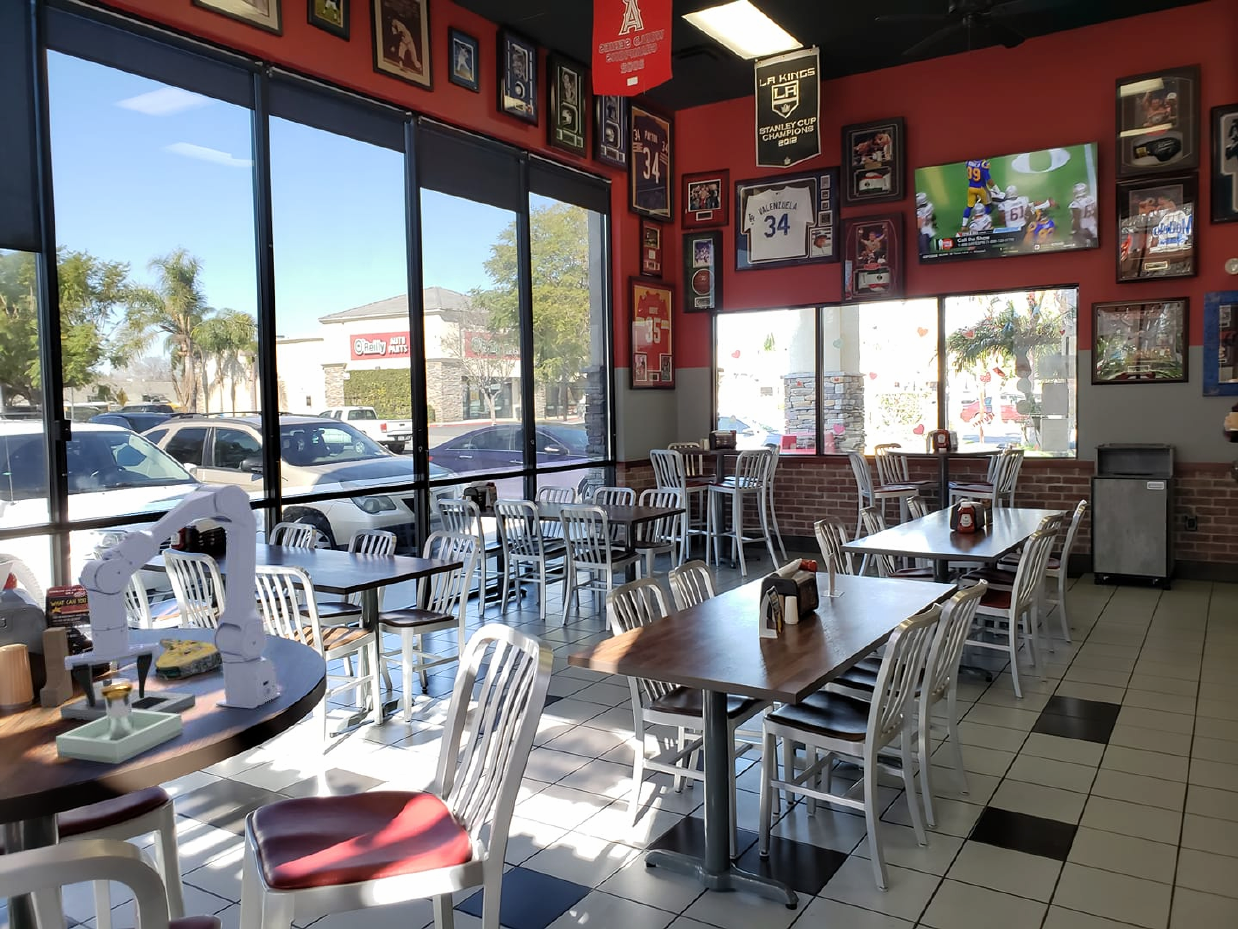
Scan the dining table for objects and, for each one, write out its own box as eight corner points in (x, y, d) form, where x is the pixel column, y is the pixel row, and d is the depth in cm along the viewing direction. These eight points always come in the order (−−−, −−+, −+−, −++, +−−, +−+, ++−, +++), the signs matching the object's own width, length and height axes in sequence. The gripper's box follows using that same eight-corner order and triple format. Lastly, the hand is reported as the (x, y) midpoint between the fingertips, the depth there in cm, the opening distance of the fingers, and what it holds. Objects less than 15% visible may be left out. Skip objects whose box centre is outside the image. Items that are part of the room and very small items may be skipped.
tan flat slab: (203, 620, 228) (227, 646, 203) (209, 642, 229) (233, 670, 204) (141, 640, 220) (158, 669, 195) (148, 662, 221) (165, 694, 196)
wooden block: (57, 697, 193) (49, 627, 192) (73, 696, 193) (66, 626, 192) (41, 708, 187) (33, 636, 185) (58, 706, 187) (50, 635, 186)
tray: (182, 732, 168) (181, 714, 168) (117, 764, 155) (115, 744, 155) (125, 726, 173) (123, 708, 173) (57, 756, 160) (55, 737, 160)
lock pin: (144, 731, 167) (138, 683, 166) (120, 742, 162) (114, 693, 161) (123, 729, 169) (118, 682, 168) (99, 740, 164) (94, 691, 163)
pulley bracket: (195, 704, 184) (192, 675, 183) (146, 726, 173) (142, 695, 172) (113, 696, 191) (110, 668, 191) (61, 717, 180) (58, 687, 180)
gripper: (155, 615, 169) (163, 687, 170) (64, 628, 163) (73, 702, 164) (155, 623, 162) (162, 698, 164) (60, 637, 156) (68, 714, 158)
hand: (117, 701), depth 163 cm, fingers open, 7 cm apart
